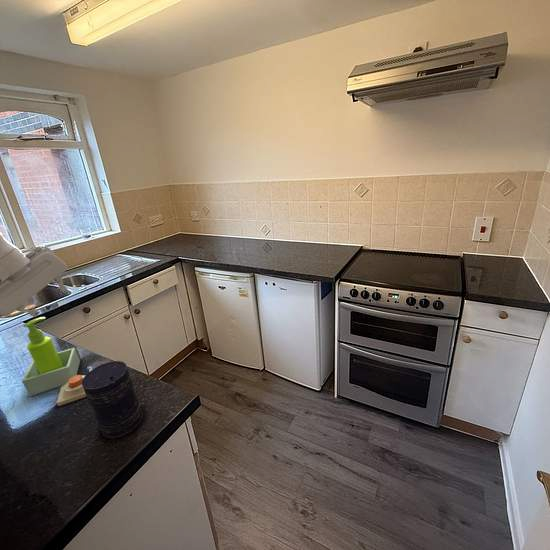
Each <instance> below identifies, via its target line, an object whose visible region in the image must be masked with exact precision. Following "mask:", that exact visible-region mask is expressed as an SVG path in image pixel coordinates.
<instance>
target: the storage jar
mask: <svg viewBox="0 0 550 550" xmlns="http://www.w3.org/2000/svg"><path fill="white" fill-rule="evenodd" d="M133 382H134V381H133V379H132V376H131V373H130V371H129V368H128V365H127V363H125V362H124V361H122V360H121V361H120V360H114V361H110V362H106V363H103V364H100V365H98V366H96V367H94V368H93V369H91V370H90V371H89V372H87V373H86V374H85V377H84V378H83V380H82V386H83V388H84V391H85V395H86V397H85V398H86V399H87V403H89V405H90V406H91V407H92V409H93V411H94V417H95V419H96V423H97V425H98V427H99V429H100V431H101V433H102V435H103V436H104V437H105V438H108V439H115V438H120V437H123V436H125V435H127V434H129V433H130V432H132V431H133V430H134V429H136V428H137V426H139V425H140V423H141V422H142V419H143V417H144V411H143V409H142V406H141V405H142V404H141V402H140V399H139V398H138V395H137V393H136V392H135V389H134V383H133Z"/></svg>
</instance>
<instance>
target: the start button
mask: <svg viewBox="0 0 550 550" xmlns="http://www.w3.org/2000/svg"><path fill="white" fill-rule="evenodd" d="M82 376H83V375H82V374H77V375H76V376H74V377H72V378H70V379H69V380H68V384H69V386H70V388H75V387H78V386H79V385H81V384H82V380H83V378H82Z"/></svg>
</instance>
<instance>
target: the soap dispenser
mask: <svg viewBox="0 0 550 550" xmlns="http://www.w3.org/2000/svg"><path fill="white" fill-rule="evenodd" d="M46 319H47V317H45V316H40V317H35V318H34V319H32V320H29V321H27V322H25V323H24V324H23V325H22V326H23V327H24V328H28V331H29V332H27V337H28V340H29V343H27V345H26V348H27V350H28V352H29V354H30V356H31V358H32V361H33V360H34V362H35V364H36V366H37V369H38V371H39V373H40V374H44V373H47V372H50V371H53V370H57V369H60V368H63V365H62V363H61V361H60V359H59V356H58V354H57V353H58V352H57V350H56V347H55V345H54V343H53V341H52V337H50V336H44V334H43V331H42V329H40V328H37V327H36V325H35V324H37V323H39V322H41V321H44V320H46Z"/></svg>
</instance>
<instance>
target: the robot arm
mask: <svg viewBox="0 0 550 550" xmlns="http://www.w3.org/2000/svg"><path fill="white" fill-rule="evenodd" d="M67 270H68V265H67V264H66V262H65V261H64V260H62V259H61V258H59V256H57V255H55V253H54V251H53V250H52V249H51V248H50V247H48V246H46V245H43V246H37V247H36V248H35V249H34V250H32V251H29V252H28V253H27V254H24V253H23V251H21V250H20V249H19V247H17V246H16V245H14V244H12V243H10V242H9V241H8V240H7V239H6V238H5V236H4V235H3V233H2V232H1V231H0V317H9V316H10V315H11V314H13V313H14V312H16V311H18V312H21V313H27V314H29V315H30V316H31V317H33V318H36V317H37V316H38V315H39V314H40V311H39V310H37V309H36V308H31V309H27V307H26V306H25V303H27V302H29V300H31V299H32V298H33V297H35V295H37V294H38V293H39V292H40V291H42V290H43V289H44V288H46V287H47V286H48V285H49V284H51V283H53V282H55V283H56V282H57V284H58V287H57V288H56V290H57V291H59V292H60V293H62V294H64V293H65V292H67V291H68V288H67V287H66V286H65V284H64V283H65V282H64V279H63V278H62V276H61V275H62V274H64V273H65V272H67Z"/></svg>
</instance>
